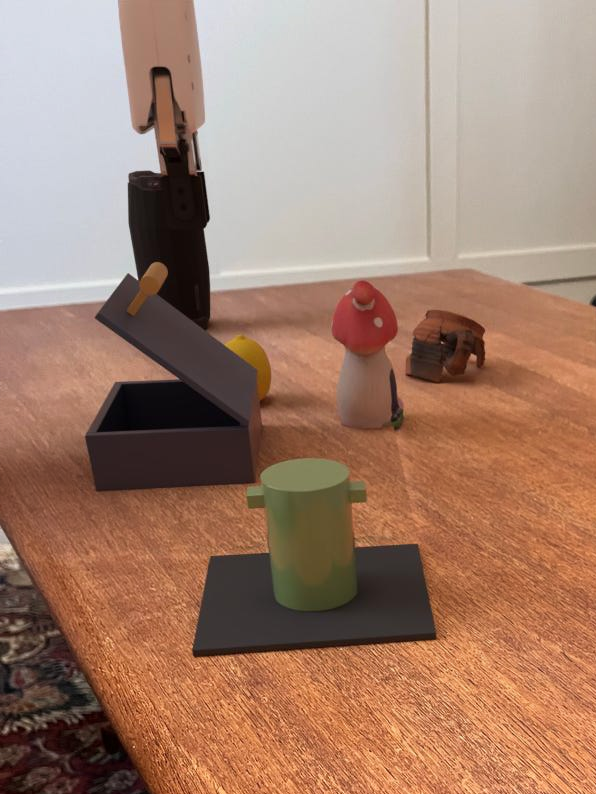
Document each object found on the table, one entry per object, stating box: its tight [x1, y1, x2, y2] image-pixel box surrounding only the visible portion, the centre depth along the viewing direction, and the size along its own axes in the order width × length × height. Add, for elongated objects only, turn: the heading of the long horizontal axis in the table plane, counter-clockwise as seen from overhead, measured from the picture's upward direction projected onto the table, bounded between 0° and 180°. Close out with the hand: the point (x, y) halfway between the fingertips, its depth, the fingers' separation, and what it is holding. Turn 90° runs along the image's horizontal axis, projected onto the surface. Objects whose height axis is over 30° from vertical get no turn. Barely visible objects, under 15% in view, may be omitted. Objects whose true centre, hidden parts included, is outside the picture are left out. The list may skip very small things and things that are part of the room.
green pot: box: [245, 457, 368, 612], centre depth 71 cm, size 8×6×9 cm
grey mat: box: [191, 543, 437, 657], centre depth 73 cm, size 16×14×1 cm
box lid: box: [94, 262, 258, 426], centre depth 90 cm, size 14×16×4 cm
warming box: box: [84, 378, 263, 492], centre depth 94 cm, size 14×16×6 cm
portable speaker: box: [127, 170, 211, 331], centre depth 135 cm, size 9×9×20 cm
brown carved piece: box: [404, 309, 486, 384], centre depth 120 cm, size 12×10×8 cm
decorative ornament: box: [330, 280, 405, 430], centre depth 101 cm, size 9×6×15 cm
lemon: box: [224, 333, 272, 402], centre depth 108 cm, size 6×6×8 cm
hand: (189, 224), depth 85 cm, fingers closed
